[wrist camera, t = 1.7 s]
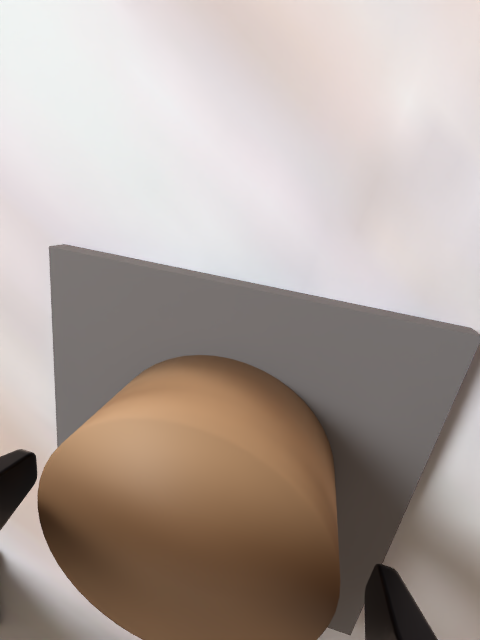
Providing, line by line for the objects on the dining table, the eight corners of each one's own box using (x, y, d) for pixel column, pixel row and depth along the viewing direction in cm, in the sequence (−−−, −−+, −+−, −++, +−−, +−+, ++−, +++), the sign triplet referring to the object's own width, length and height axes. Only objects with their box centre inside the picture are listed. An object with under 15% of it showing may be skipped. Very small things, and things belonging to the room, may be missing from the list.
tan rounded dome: (305, 576, 11) (299, 704, 8) (109, 510, 12) (45, 601, 9) (364, 390, 8) (386, 481, 6) (113, 330, 9) (26, 379, 7)
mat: (348, 614, 12) (350, 635, 11) (71, 518, 13) (61, 531, 13) (471, 327, 8) (482, 337, 7) (64, 244, 10) (49, 246, 9)
